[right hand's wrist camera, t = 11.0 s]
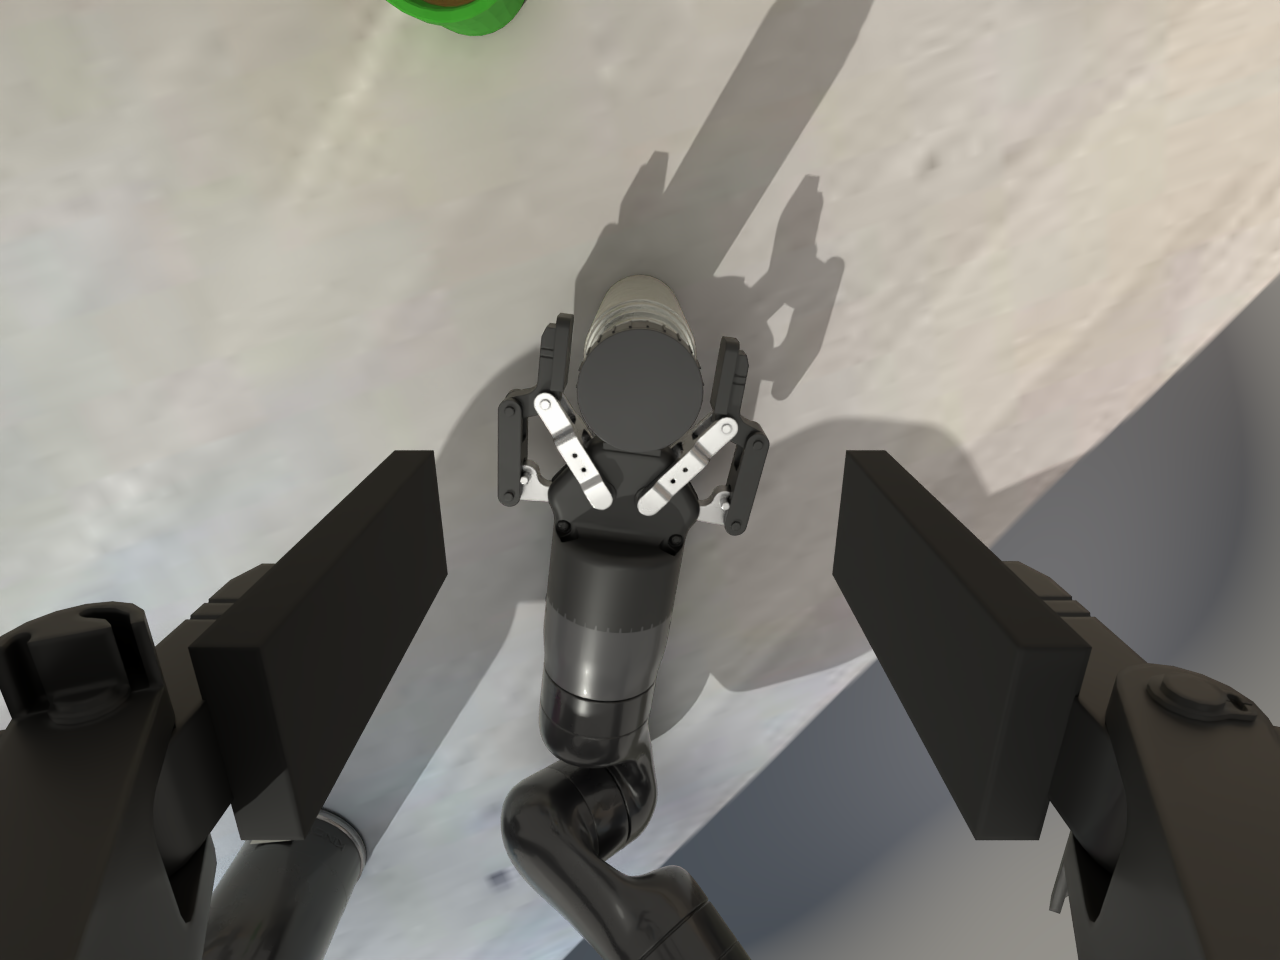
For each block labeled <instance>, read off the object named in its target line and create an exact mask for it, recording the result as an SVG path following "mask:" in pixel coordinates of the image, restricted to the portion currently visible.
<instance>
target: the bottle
mask: <svg viewBox="0 0 1280 960" xmlns="http://www.w3.org/2000/svg"><path fill="white" fill-rule="evenodd" d="M631 320H632V322H639V321H641V322H646V320H649V322H651V323H656V324H659V325H661V326H662V325H663V324H664V325H665V327H666V328H668V329H670V330H672V331H673V332H675V333H676V334H677V333H679V334H680V337H681V338H682V339H683V340H684V341H685V343H686V344H687V345H690V346H691V349H692V351H693V355H694V357H695V359H696V357H697V356H696V345H695V340H694V337H693V334H692V332H691V330H690V327H689V325H688V323H687V321H686V319H685V316H684V314H683V312H682V310H681V307H680V305H679V303H678V301H677V299H676V296H675V295H674V293H673V292H672V290H671V289H670V288H669V287H668V286H667V285H666V284H665V283H663V282H662V281H660V280H658V279H656V278H654V277H651V276H646V275H634V276H629V277H626V278H624V279H622V280H620V281H618V282H617V283H615V284H614V285H613V286H612V287H611V288H610V289H609V290H608V292H607V293H606V295H605V297H604V299H603V301H602V303H601V305H600V308H599V310H598V312H597V314H596V316H595V319H594V321H593V323H592V325H591V328H590V330H589V332H588V334H587V337H586V340H585V345H584V360H585V357H586V353H587V350H588V348H589V347H592V345H593V344H594V343H595V342H596V340H597V339H598V337H599V335H600V334H601V335H603V334H604V333H606V332H607V331H609V330H610V329H612V328H613V326H614V325H615V326H619V325H622V324H625V323H629V321H631Z"/></svg>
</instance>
